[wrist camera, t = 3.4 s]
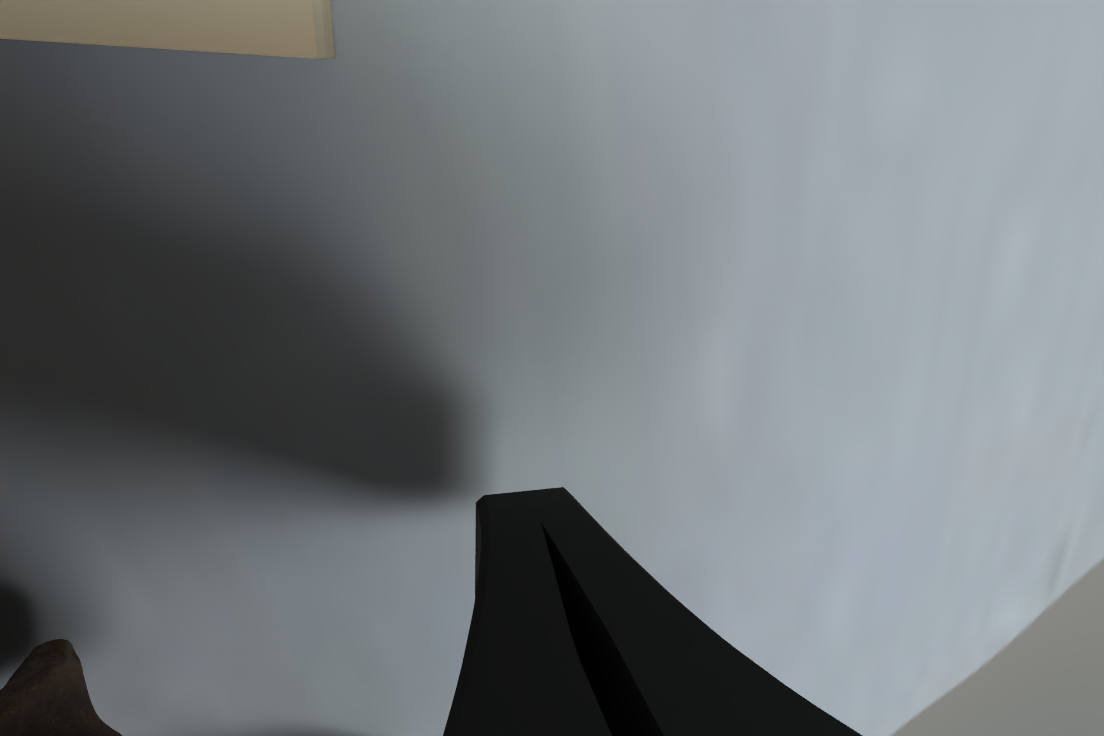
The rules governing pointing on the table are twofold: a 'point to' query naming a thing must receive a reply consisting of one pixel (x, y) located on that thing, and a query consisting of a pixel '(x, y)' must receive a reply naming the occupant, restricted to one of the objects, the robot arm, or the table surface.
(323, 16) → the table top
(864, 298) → the table surface
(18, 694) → the pottery mug
